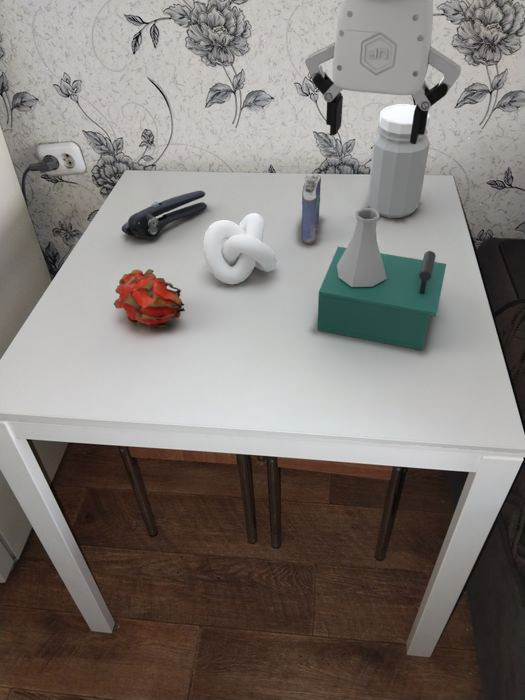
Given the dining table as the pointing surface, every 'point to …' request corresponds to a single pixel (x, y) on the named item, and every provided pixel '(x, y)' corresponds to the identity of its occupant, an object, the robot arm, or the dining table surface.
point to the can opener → (150, 226)
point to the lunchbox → (372, 322)
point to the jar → (397, 163)
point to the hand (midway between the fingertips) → (374, 134)
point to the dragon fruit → (148, 299)
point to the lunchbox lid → (393, 284)
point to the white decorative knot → (237, 249)
